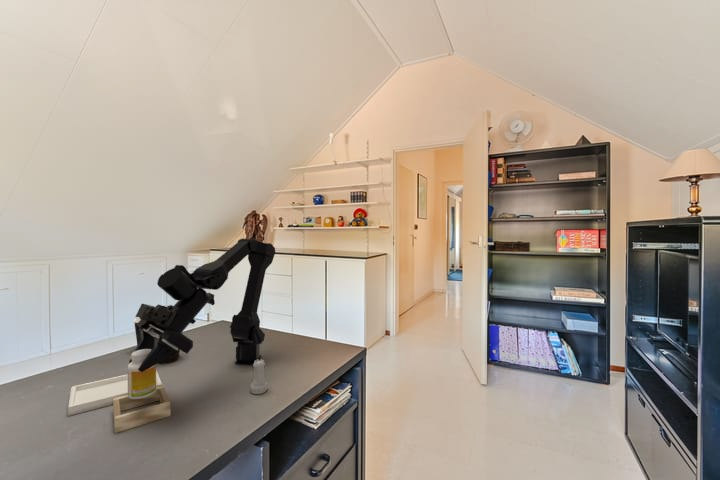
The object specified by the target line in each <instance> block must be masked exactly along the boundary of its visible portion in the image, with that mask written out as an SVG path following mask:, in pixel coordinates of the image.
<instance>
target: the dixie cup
mask: <svg viewBox="0 0 720 480" xmlns="http://www.w3.org/2000/svg"><path fill="white" fill-rule="evenodd" d="M140 320H141V319H140V318H139V317H136V318H135V319H133V321H132V322H133V323H134V330H135V339H136V347H137V346H138V344H139V342H140V339H141V334H140V331H139V329H142V330H143V328H141V327H140V326H138V325H137V323H138V322H139V321H140Z"/></svg>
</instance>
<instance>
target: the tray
mask: <svg viewBox="0 0 720 480" xmlns="http://www.w3.org/2000/svg"><path fill="white" fill-rule="evenodd" d="M161 386H163V383H162V381H161V379H160V376H159V373H158V370H157V369H156V388H157V387H161ZM125 395H128V373H127V374H122V375H118V376H114V377H109V378H104V379H100V380H95V381H91V382H87V383H82V384H78V385H73V386H71V390H70V393H69V401H68V406H67V407H68V409H67V416H68V417H71V416H73V415H78V414H83V413H85V412H89V411H93V410H97V409H98V410H99V409H100V408H106V407H108V406H113V399H114V398H117V397H121V396H125Z"/></svg>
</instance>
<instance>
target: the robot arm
mask: <svg viewBox="0 0 720 480" xmlns="http://www.w3.org/2000/svg"><path fill="white" fill-rule="evenodd" d="M275 248H276V247H275V246H274V244H272V243H271V242H270V243H268V242H263V241H259V240H257V239H254V238H240V239H238V240H237V242H236V244H234V245H233V246H232V247H230V248H229V249H228V250H227V251H226V252H224V253H223V254H222V255H221V256H219V257H217V259H216V260H213V261H211V262H207V263H205V264H202V265H201V266H199V267H197V268H195V270H194V271H193V272H190V271H188V270H187V268H186V267H185V266H184V265H182V264H175V266H174V267H173V268H171V269H168V270H167V271H165V272H164V273H162V274H161V275H160V276H159V277H158V279H157V283H156V284H157V286H158V287H159V288H160V289H161V290H163V292H165V293H166V294H167V295H169V297H170V298H172V299H174V301H176V303H174V305H172V304H170V305H167V306H166V305H161V304H157V305H155V306H154V305H150V304H145V303H141V305H139V306H140V307H139V309H138V310H137V313H136V315H135V318H140V319H141V320H140V321H139V322H138V323H137V325H138V326H140V327H141V328H143V330H142V329H139V331H140V334H141V339H140V342H139V344H138V346H137V345H136V347H135V350H134V352H135V351H137V350H142V349H151V351H150V353H149V354H148V356H147V357H146V358H145V360H144V361H143V362H142V364H141V365H140V367H139V368H138V370H139V371H141V372H143V371H145V370H147V369H149V368H150V367H152V366H154V365H156V366H157V364H158V363H159V362H161V361H163V360H165V359H167V358H169V357H171V356H173V355H175V354H179V355H180V354H181V353H180V352H179V351H177V350H178V349H180V351H181V352H182V353H184V354H186V355H188V354H189V352H191V350H192V349H193V347H194V340H192V339H190V338H189V337H188V336H186V335H185V334H183V332H184V331H185V329H186V328H187V327H188V326H189V325H190V324H192V325H194V324H195V323H196V321H197V320H195V318H196V317H197V316H198V314H199V313H200V312H201V311H202V309H204V308H205V306H206V305H207V304H210V305H211V306H214V305H215V303H216V302H215V294H213V293H211V292H207V291H206V290H213V291H217V290H219V289H221V287H222V286H223V285H224V284H225V283H226V281H227V280H228V279H229V273H230V272H231V271H232V270H233V269H234V268H235V267H236V266H237V265H238V264H239V263H241V262H242V261H243V260H244V259H245V258H246V257H247V260H248V263H249V266H250V269H249V273H248V278H247V283H246V286H245V291H244V297H243V301H242V303H241V304H242V305H241V308H240V311H239V312H238V313H237V314H233V316H232V319H231V324H230V326H229V328H230V331H229V333H230V335H231V338H232V341H233V343H236V344H237V346H236V347H235V361H234V364H235V365H253V364H254V361H255V360H256V361H257V360H258V359H259V360H260V359H262V355H261V354H260V352H261V350H260V346H261V345H262V344H263V342H264V341H265V338H266V337H265V335H266V334H265V333H264V331H263V330H262V329H261V328H260V324H261V320H260V318H259V315H258V309H259V303H260V299H261V294H262V291H263V290H262V289H263V284H264V281H265V275H266V270H267V269H268V268H269V267H270V265H271V264H272V263H273V260H274V257H275V255H276V249H275ZM161 338H162V340H160V339H161ZM131 362H132V359H131V358H130V359H129V361H128V364H130V363H131Z"/></svg>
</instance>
